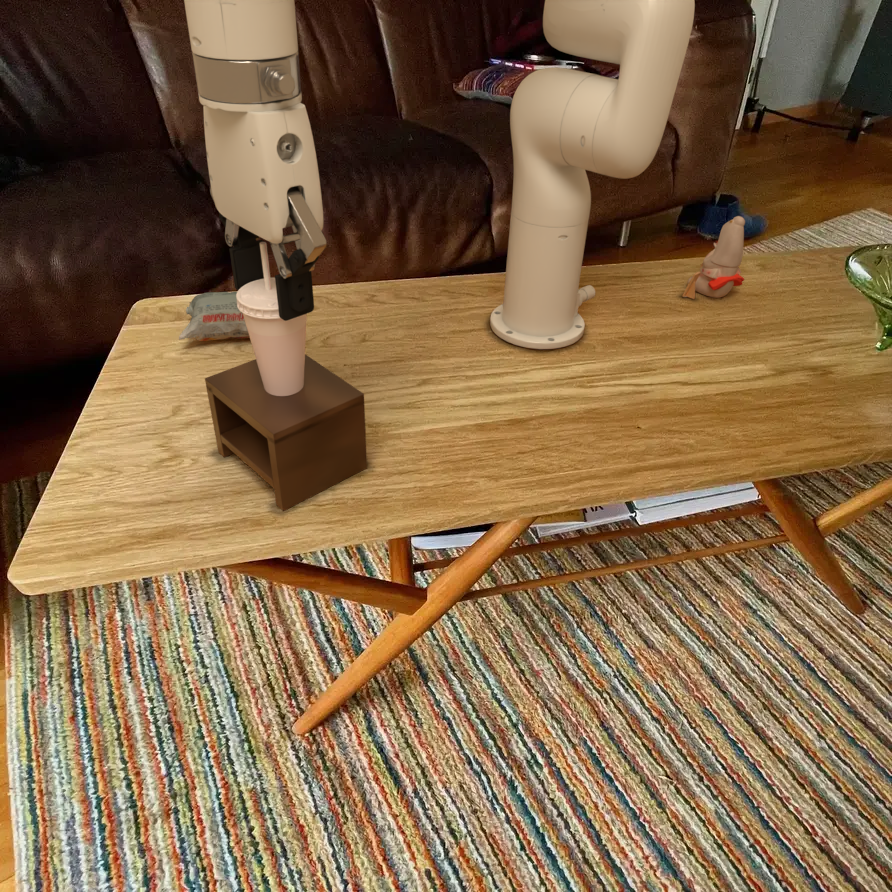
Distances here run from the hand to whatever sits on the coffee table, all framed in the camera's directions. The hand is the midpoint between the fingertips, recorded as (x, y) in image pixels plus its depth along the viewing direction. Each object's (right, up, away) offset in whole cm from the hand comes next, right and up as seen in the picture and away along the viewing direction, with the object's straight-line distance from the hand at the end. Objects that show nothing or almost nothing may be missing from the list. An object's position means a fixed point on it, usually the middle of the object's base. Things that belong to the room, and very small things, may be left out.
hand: (273, 298), depth 67 cm
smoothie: (0, -7, +6) cm, 9 cm away
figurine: (+54, +10, +46) cm, 72 cm away
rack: (-1, -14, +11) cm, 18 cm away
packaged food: (-12, +1, +31) cm, 34 cm away
